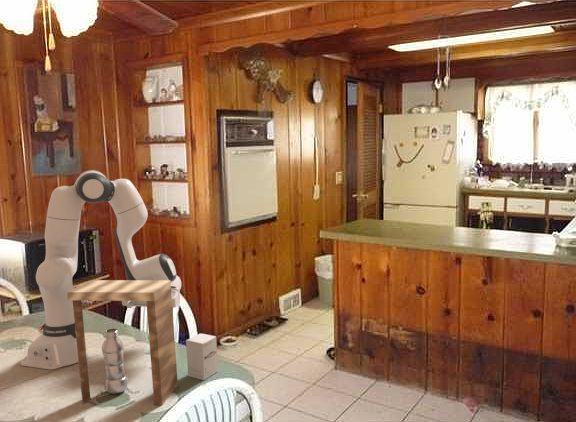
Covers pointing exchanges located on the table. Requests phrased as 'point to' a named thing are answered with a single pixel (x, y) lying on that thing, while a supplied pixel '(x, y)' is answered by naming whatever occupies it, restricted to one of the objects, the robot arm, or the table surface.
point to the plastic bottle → (114, 362)
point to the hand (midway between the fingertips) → (141, 306)
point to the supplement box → (202, 356)
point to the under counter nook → (158, 325)
